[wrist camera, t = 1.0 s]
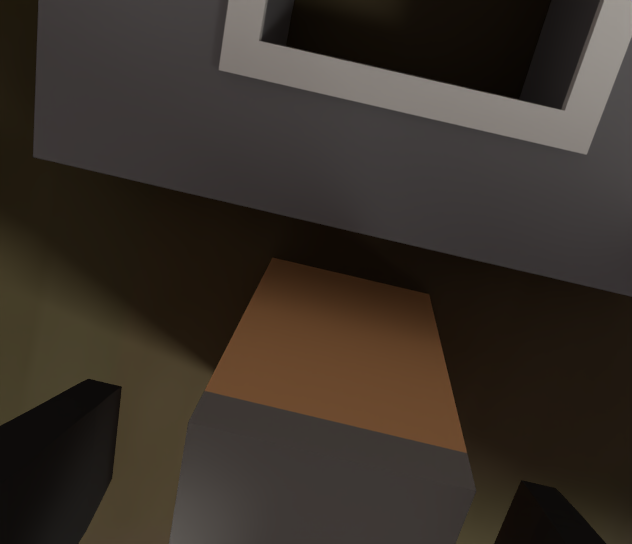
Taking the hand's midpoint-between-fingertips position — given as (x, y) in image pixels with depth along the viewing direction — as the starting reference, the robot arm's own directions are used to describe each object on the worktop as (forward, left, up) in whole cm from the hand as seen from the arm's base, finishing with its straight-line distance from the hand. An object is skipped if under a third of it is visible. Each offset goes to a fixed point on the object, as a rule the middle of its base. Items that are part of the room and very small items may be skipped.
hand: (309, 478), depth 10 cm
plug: (0, 0, -5) cm, 5 cm away
